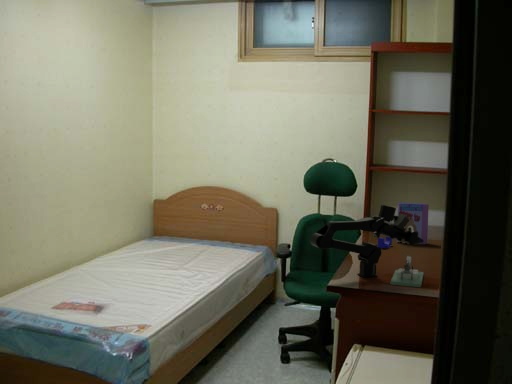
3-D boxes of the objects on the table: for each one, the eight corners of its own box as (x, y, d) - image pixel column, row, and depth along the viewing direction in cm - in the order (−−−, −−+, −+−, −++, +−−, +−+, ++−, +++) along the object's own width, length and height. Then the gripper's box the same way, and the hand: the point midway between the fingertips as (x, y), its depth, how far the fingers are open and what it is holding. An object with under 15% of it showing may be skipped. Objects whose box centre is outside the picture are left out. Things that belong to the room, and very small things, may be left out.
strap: (410, 274, 223) (410, 272, 223) (403, 273, 224) (403, 271, 223) (412, 258, 234) (412, 256, 233) (405, 257, 234) (405, 255, 234)
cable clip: (385, 249, 302) (385, 238, 302) (377, 248, 305) (378, 238, 304) (394, 246, 311) (394, 236, 311) (386, 245, 314) (387, 235, 314)
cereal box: (396, 243, 323) (398, 203, 321) (396, 241, 328) (397, 202, 326) (427, 244, 319) (428, 204, 318) (426, 243, 324) (427, 203, 322)
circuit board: (420, 287, 216) (421, 284, 216) (390, 284, 220) (390, 281, 220) (423, 274, 238) (423, 272, 238) (395, 272, 242) (395, 269, 242)
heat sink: (416, 280, 222) (416, 272, 222) (396, 278, 225) (397, 270, 224) (418, 274, 234) (418, 266, 234) (399, 272, 237) (399, 264, 237)
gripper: (406, 216, 228) (435, 225, 233) (383, 210, 245) (410, 219, 250) (398, 241, 228) (427, 250, 233) (375, 233, 245) (403, 241, 250)
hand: (417, 239), depth 242 cm, fingers open, 9 cm apart
